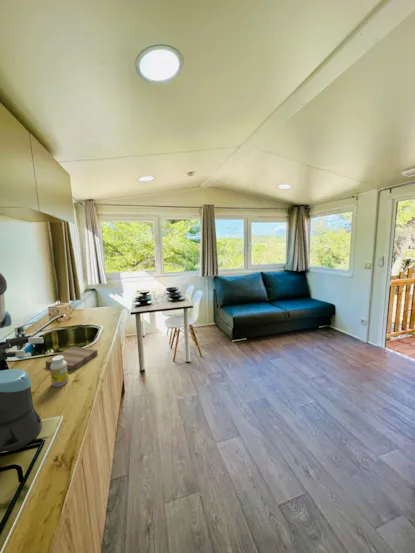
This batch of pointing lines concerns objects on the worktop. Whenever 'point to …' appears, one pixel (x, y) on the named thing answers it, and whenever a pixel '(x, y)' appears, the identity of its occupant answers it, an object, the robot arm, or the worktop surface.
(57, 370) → the supplement bottle
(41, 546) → the worktop surface
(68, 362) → the walnut plinth
